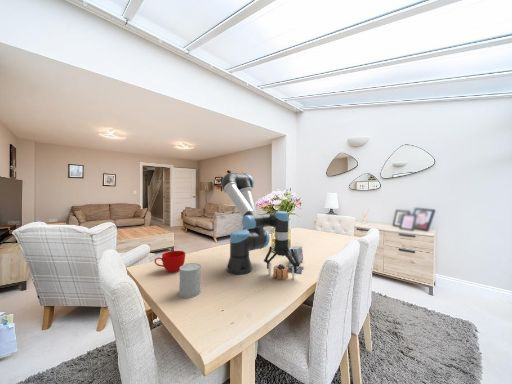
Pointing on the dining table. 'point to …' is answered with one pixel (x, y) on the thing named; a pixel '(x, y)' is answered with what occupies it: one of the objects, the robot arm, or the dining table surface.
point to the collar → (280, 272)
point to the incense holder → (297, 253)
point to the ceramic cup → (172, 260)
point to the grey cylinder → (190, 280)
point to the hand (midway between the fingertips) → (281, 276)
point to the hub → (299, 269)
